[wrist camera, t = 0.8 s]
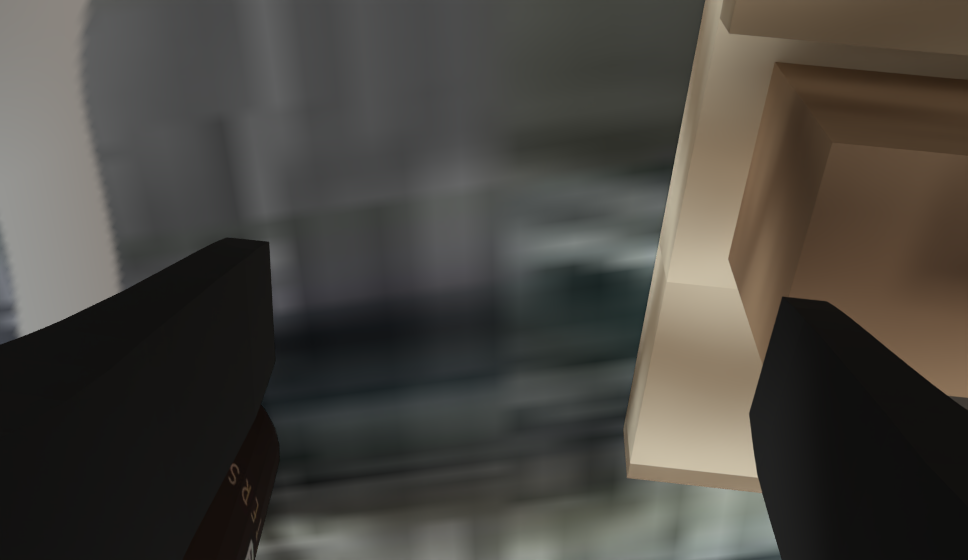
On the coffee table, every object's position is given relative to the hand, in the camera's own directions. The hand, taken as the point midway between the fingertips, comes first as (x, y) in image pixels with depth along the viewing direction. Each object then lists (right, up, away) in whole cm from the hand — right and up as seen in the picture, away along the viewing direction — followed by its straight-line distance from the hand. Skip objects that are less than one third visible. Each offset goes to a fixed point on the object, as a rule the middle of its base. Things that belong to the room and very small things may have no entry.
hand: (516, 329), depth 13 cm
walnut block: (+7, +3, +6) cm, 10 cm away
